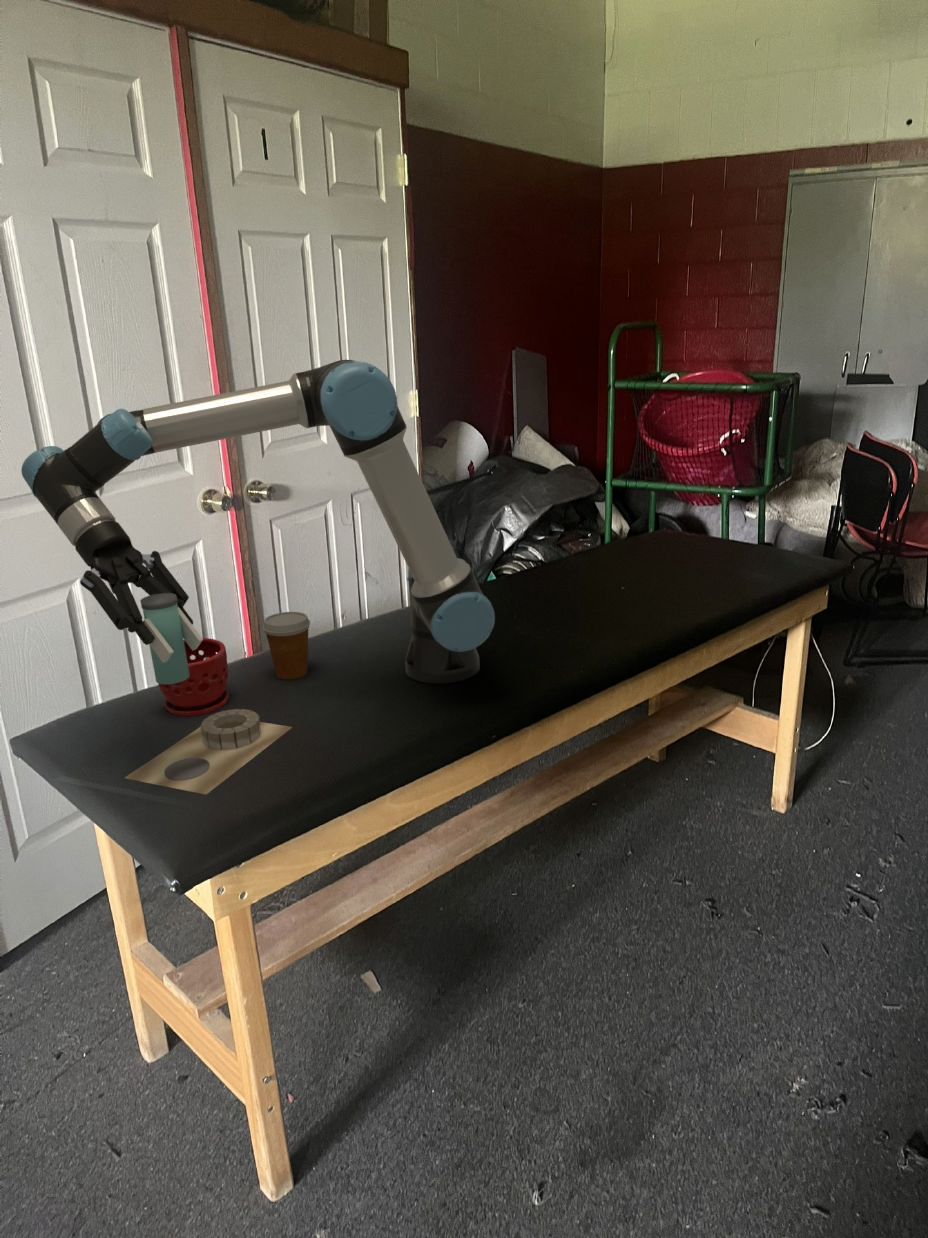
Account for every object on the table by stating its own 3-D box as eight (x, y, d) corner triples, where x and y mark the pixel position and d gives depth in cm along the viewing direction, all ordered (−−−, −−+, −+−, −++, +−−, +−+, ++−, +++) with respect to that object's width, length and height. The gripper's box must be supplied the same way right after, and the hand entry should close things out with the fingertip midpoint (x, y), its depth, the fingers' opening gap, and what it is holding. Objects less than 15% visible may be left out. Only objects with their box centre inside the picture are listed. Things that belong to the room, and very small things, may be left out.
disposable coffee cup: (259, 680, 179) (252, 624, 175) (284, 662, 187) (277, 609, 183) (300, 685, 176) (294, 628, 172) (323, 667, 184) (318, 612, 180)
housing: (292, 732, 156) (290, 711, 155) (207, 800, 135) (203, 777, 134) (218, 720, 162) (215, 700, 160) (125, 783, 141) (120, 761, 140)
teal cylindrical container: (197, 674, 138) (183, 594, 134) (173, 686, 134) (158, 604, 130) (172, 670, 140) (158, 591, 136) (148, 682, 136) (132, 601, 132)
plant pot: (152, 707, 169) (142, 648, 165) (218, 688, 176) (210, 632, 172) (175, 731, 158) (164, 669, 154) (244, 710, 166) (236, 650, 162)
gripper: (135, 536, 146) (218, 645, 143) (35, 563, 132) (125, 685, 129) (151, 507, 141) (237, 619, 138) (50, 532, 127) (143, 657, 124)
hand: (183, 650), depth 134 cm, fingers closed on teal cylindrical container, 5 cm apart
